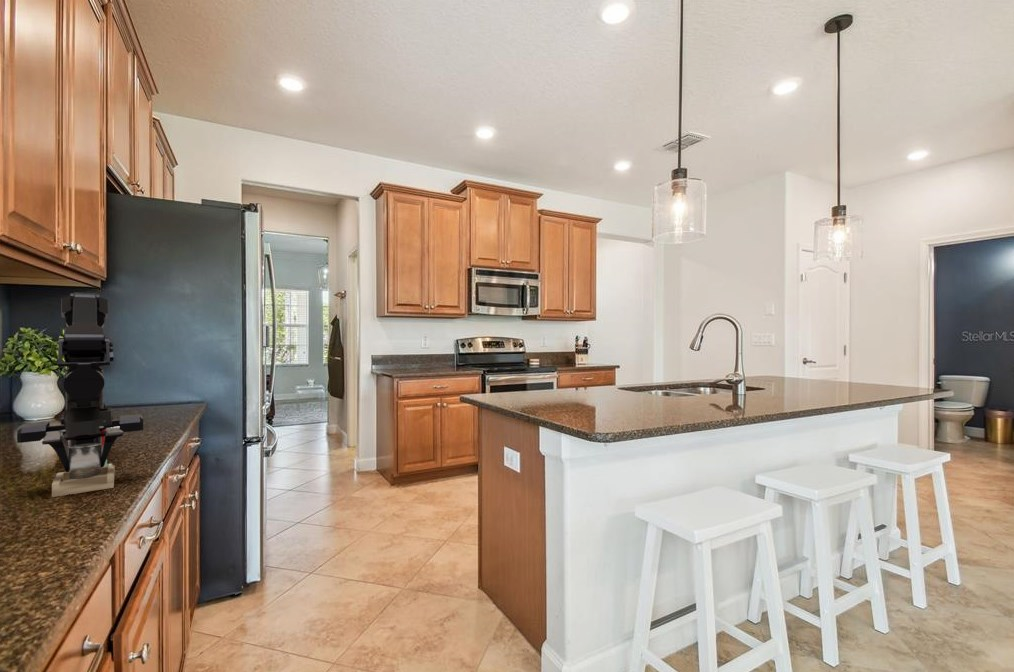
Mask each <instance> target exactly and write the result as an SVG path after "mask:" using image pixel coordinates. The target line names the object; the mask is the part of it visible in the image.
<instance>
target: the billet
mask: <svg viewBox="0 0 1014 672" xmlns="http://www.w3.org/2000/svg"><path fill="white" fill-rule="evenodd" d="M67 450H68V452H69V479H83V478H90V477H94V476H97V475H100V474H101V473H102V470H101V444H100V443H88V444H80V445H75V446H71V447H69V448H68V447H67Z"/></svg>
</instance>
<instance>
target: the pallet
mask: <svg viewBox="0 0 1014 672" xmlns="http://www.w3.org/2000/svg"><path fill="white" fill-rule="evenodd" d="M101 470H102V473H101V474H100V475H97V476H94V477H90V478H83V479H69V472H66V471H62V472H61V471H60V472H57V473H56V475H55V477H54V479H53V481H52V483H51V498H55V497H62V496H67V495H69V494H70V495H73V494H75V495H76V494H80V493H86V492H93V491H101V490H106V489H107V490H108V489H112V488H113V489H114V486H115V464H114V465H113V464H112V465H111V466H104V467H101ZM70 495H69V496H70Z"/></svg>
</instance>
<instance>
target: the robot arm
mask: <svg viewBox="0 0 1014 672" xmlns="http://www.w3.org/2000/svg"><path fill="white" fill-rule="evenodd" d="M60 301H61V303H60V305H61V306H60V312H61V313H60V315H61V318H65V324H66V327H65V328H64V329H63V337H58V357H57V359H58V360H57V367H58V368H67V367H68V369H67V370H65V378H64V380H63V389H64V391H65V411H64V414H61V416H60V419H61V420H60V424H54V425H50V424H51V423H50V421H44V422H32V423H31V422H30V423H24V424H23V425H22V426H21V427H20V428H19V429H18V430H17V433H16V443H19V444H21V443H22V444H23V443H31V442H33V443H34V442H40V441H41V444H42V445H44V446H45V445H49V446H50V447H51V448H52V449H53V450H54V451H55V453H56V454H57V456H58V458H59V460H60V463H61V464H62V465H61V466H62V467H63V469H64V470H65V471H64V472H69V457H68V440H70V447H71V446H75V445H80V444H88V443H100V444H101V467H104V464H105V462H106V459H107V460H108V457H109V454H110V451H111V450H112V449H111V448H112V447H113V445H114V443H115V441H116V440H117V439H118V438H119V437H124V435H125V433H128V432H129V433H130V432H131V433H132V432H140V431H143V430H144V417H143V415H142V414H141V413H136V414H124V415H119V419H113V412H112V411H113V410H112V409H113V408H112V407H106V404H105V403H104V388H105V377H104V369H103V368H102V367H101V366H110V365H111V362H114V342H112V341H111V338H110V337H106V332H105V328H104V326H105V319H109V300H108V299H106V298H104V297H101V296H100V294H98V293H96V292H82V291H81V292H79V291H78V292H77V291H76V292H75V291H74V292H70V295H68V296H65V297H62V298H61V299H60ZM63 359H64V361H63ZM102 430H106V431H102ZM104 436H105V440H104V446H103V452H102V437H104Z"/></svg>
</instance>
